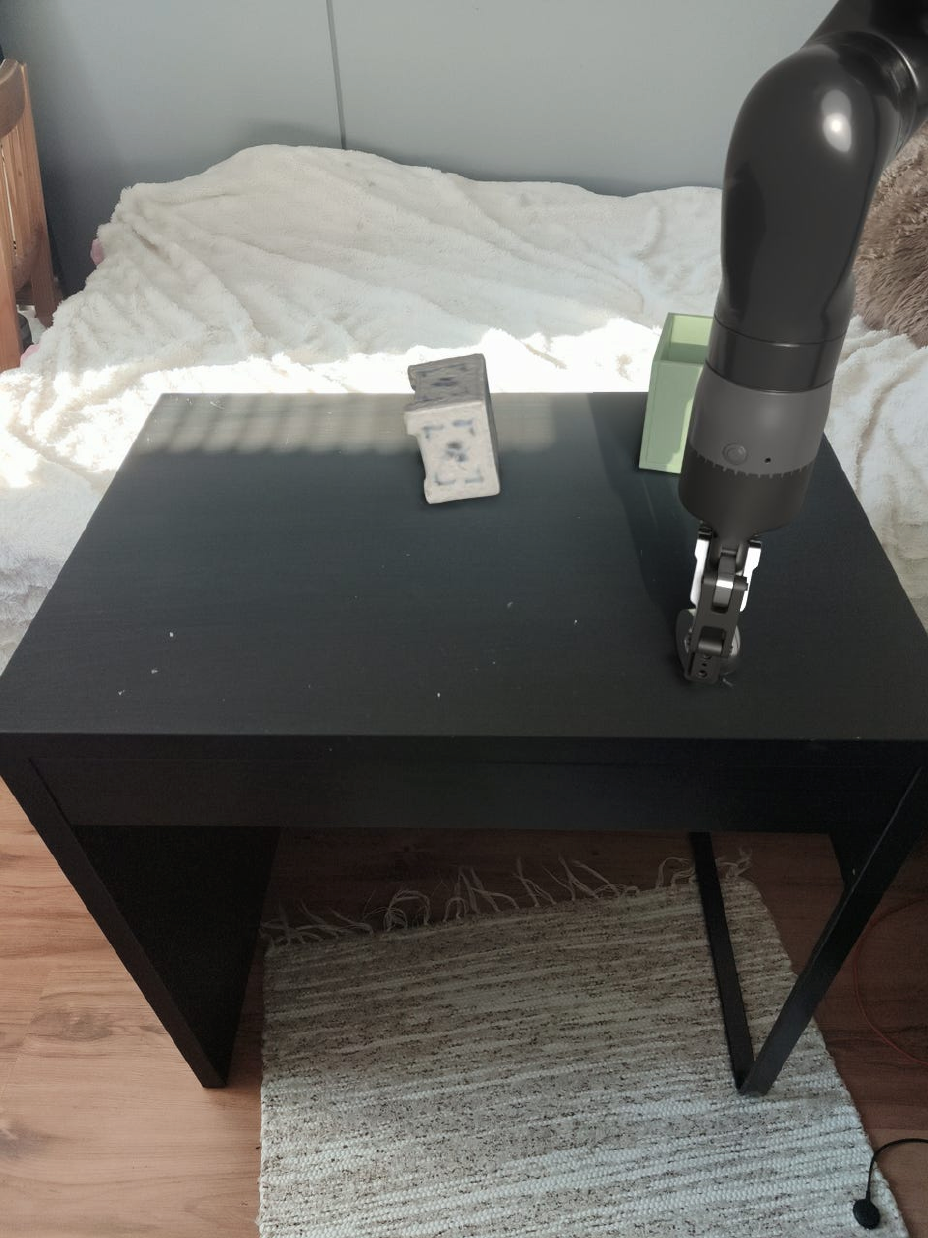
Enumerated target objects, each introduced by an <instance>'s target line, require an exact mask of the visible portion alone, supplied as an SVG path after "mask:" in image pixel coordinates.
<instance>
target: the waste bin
mask: <svg viewBox="0 0 928 1238" xmlns="http://www.w3.org/2000/svg"><path fill="white" fill-rule="evenodd" d="M712 319H713V316H708V315H699V314H691V313H690V314H689V313H681V312H680V313H679V312H669V311H668V312H667V315H666V318H665V321H664V324H663V328H662V329H661V333H660V336H659V339H658V343H657V346H656V349H655V352H654V355H653V358H652V361H651V368H650V374H649V376H650V377H649V384H648V391H647V400H646V407H645V415H644V422H643V430H642V439H641V445H640V453H639V461H638V468H639V469H645V470H653V471H661V472H667V473H675V474H680V472H681V466H682V461H683V455H684V449H685V444H686V438H687V433H688V427H689V421H690V416H691V410H692V405H693V399H694V395H695V390H696V387H697V383H698V380H699V377H700V375H701V372H702V369H703V365H704V362H705V358H706V352H707V346H708V341H709V335H710V330H711V324H712Z"/></svg>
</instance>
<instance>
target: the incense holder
mask: <svg viewBox="0 0 928 1238" xmlns="http://www.w3.org/2000/svg"><path fill="white" fill-rule="evenodd" d="M406 372H407V376H408V381H409V384H410V385H409V386H410V388H411V390H413V391H414V398H413V401H412V402H411V403H407V404H404V405H403V408H402V418H403V423H404V424H403V425H404V427H405V432H406V435H409V436H414V437H415V438H416V440H417V443H418V447H419V451H420V454H421V459H422V462H423V466H424V467H423V468H424V471H425V479H424V480H423V489H424V490H423V491H424V495H425V499H426V502H428V504H430V505H432V504H439V503H444V502H445V503H446V502H450V501H456V500H464V499H474V498H483V497H490V496H497V495H498V494H500V492H501V479H500V468H499V466H500V465H499V441H498V432H497V427H496V422H495V421H496V420H495V414H494V409H493V405H492V404H493V403H492V396H491V389H490V385H489V383H490V382H489V377H488V369H487V361H486V358H485V354H484V353H481V352H480V353H477V352H475V353H471V354H466V355H459V356H455V357H447V358H441V359H438V360H430V361H426V362H422V363H417V364H410V365H408V366H407V371H406Z"/></svg>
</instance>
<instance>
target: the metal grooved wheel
mask: <svg viewBox="0 0 928 1238" xmlns="http://www.w3.org/2000/svg"><path fill="white" fill-rule="evenodd" d="M695 610H696V607H691V608H684V609H682V610H680V612H679V613H678V615H677V617H676V624H675V642H676V648H677V654H678V658H679V660H680V663H681V667H682V668H683V670H685V665H686V660H687V656H688V651H689V645H687V643H688V638H690V636H691V635H689V629H690V627H692V626H693V620H694V615H695ZM732 646H733V650H732V654H730V653H729V657H728V659H726V658H723V660H722V664H721V668H720V672H719V676H726V675H730V674H732V673H733V672H734V671H736V669H737V668H738V666H739V663H740V661H741V656H742V638H741V633H740V629H739V625H738V624H737V626H736V630H735V634H734V638H733V642H732Z"/></svg>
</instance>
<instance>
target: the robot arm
mask: <svg viewBox="0 0 928 1238" xmlns="http://www.w3.org/2000/svg"><path fill="white" fill-rule="evenodd" d="M927 120H928V0H837V1H836V3H835V4H834V6H833V7H832V8H831V9H830V10H829V12H828V13H827V15H826V16H825V17H824V18H823V20H822V21H821V22H820V23H819V25H818V26H817V28H816V29H815V30H814V31H813V32H812V34H811V35H810V36H809V37H808V38H807V39H806V40H805V41H804V43H803V45H801V47H799V49H798V50H797V51H795V52H793V53H791V54H790V55H788V56H786V57H784V58H783V59H781V60H779V61H778V62H776V63H775V64H774V65H772V67H770V68H769V69H767V70H766V72H764V73H763V74H762V75H761V76H760V78H758V80H757V81H756V82H755V83H754V84H753V86H752V88H750V90H749V91H748V93H747V95H746V96H745V98H744V100H743V101H742V104H741V106H740V108H739V110H738V113H737V115H736V118H735V121H734V124H733V127H732V131H731V134H730V138H729V142H728V146H727V151H726V157H725V163H724V167H723V168H724V169H723V176H722V185H721V201H720V202H721V203H720V246H719V247H720V248H719V249H720V250H719V251H720V252H719V253H720V268H721V278H720V284H719V287H718V292H717V294H716V298H715V299H716V300H715V303H714V308H713V309H714V310H713V312H712V313H713V314H712V317H713V319H712V324H711V330H710V335H709V341H708V346H707V352H706V358H705V362H704V365H703V369H702V372H701V375H700V377H699V380H698V383H697V387H696V390H695V395H694V399H693V405H692V410H691V416H690V421H689V427H688V433H687V438H686V444H685V449H684V455H683V461H682V466H681V472H680V473H679V477H678V484H677V494H678V498H679V501H680V503H681V505H682V506H683V507H684V509H685V510H686V511H687V512H688V513H689V514H690V515H692V516H693V517H694V518H696V519H697V520H699V527H698V533H697V538H696V544H695V549H694V557H695V560H696V564H695V570H694V574H693V579H692V585H691V588H690V589H691V590H690V595H689V597H690V601H691V602H692V604H694V605H695V608H696V610H695V615H694V620H693V626H692V627H690V629H689V635H691V636H690V638H688V643H687V645H689V651H688V656H687V660H686V665H685V670H684V669H683V670H684V671H683V676H684V678H685V679H686V680H688V681H692V682H697V683H702V684H706V685H715V684H716V683H717V682H718V680H719V676H720V675H719V672H720V668H721V664H722V660H723V658H726V659H728V657H729V653H730V654H732V650H733V646H732V642H733V638H734V634H735V630H736V626H737V625H738V621H739V617H740V614H741V612H742V611H743V610H744V609H745V608H746V606H747V601H748V596H749V591H750V585H751V580H752V576H753V571H754V569H755V568H756V567H758V565H759V562H760V557H761V553H762V546H763V542H762V541H760V540H761V537H762V534H764V533H767V532H773V531H777V530H779V529H782V528H783V527H786V526H788V525H789V524H790V523H792V522H793V521H794V520H795V519H796V518H797V517H798V515H799V514H800V512H801V510H802V506H803V503H804V500H805V497H806V493H807V490H808V487H809V483H810V479H811V476H812V472H813V469H814V465H815V461H816V460H817V456H818V451H819V449H820V445H821V441H822V437H823V434H824V431H825V427H826V424H827V422H828V418H829V417H828V416H829V413H830V407H831V400H832V392H833V391H832V390H833V384H834V379H835V376H836V372H837V368H838V364H839V360H840V358H841V354H842V350H843V347H844V343H845V340H846V336H847V332H848V329H849V326H850V324H851V323H850V322H851V319H852V315H853V310H854V305H855V299H856V292H857V285H856V284H857V283H856V282H857V281H856V276H855V273H854V271H853V269H854V266H855V264H856V263H855V262H856V259H857V257H858V256H857V255H858V252H859V249H860V245H861V241H862V238H863V234H864V230H865V228H866V227H865V226H866V223H867V219H868V216H869V212H870V210H871V206H872V204H873V200H874V197H875V194H876V192H877V188H878V185H879V184H880V179H881V177H882V175H883V173H884V172H885V170H886V169H887V168H888V167H889V166H890V165H891V164H892V163H893V161H894V160H895V159H896V158H897V156H898V155H899V154H900V153H901V152H902V151H903V149H904V148H905V147H906V146H907V144H908V143H909V142H910V141H911V139H912V138H913V137H914V136H915V135H916V133H917V132H918V131H919V130H920V129H921V127H922V126H923V125H924V124H925V122H926V121H927Z"/></svg>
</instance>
